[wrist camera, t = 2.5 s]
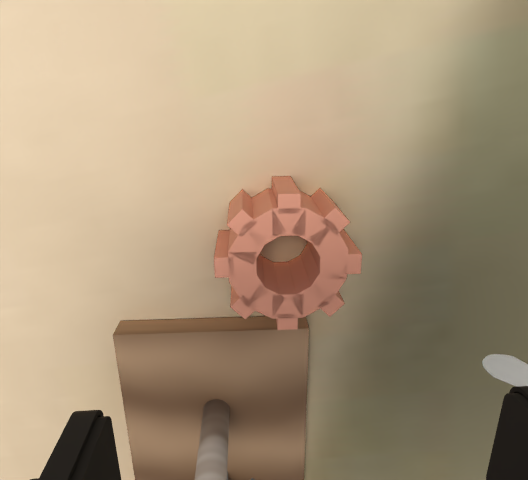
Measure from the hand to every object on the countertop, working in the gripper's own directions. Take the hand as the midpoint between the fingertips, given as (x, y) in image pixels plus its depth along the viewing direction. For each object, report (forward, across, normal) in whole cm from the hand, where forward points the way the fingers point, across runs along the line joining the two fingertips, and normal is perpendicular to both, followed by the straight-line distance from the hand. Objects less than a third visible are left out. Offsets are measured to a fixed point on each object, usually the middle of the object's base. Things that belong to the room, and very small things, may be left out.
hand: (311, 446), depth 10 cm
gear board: (+14, +3, +16) cm, 22 cm away
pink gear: (+14, -1, 0) cm, 14 cm away
